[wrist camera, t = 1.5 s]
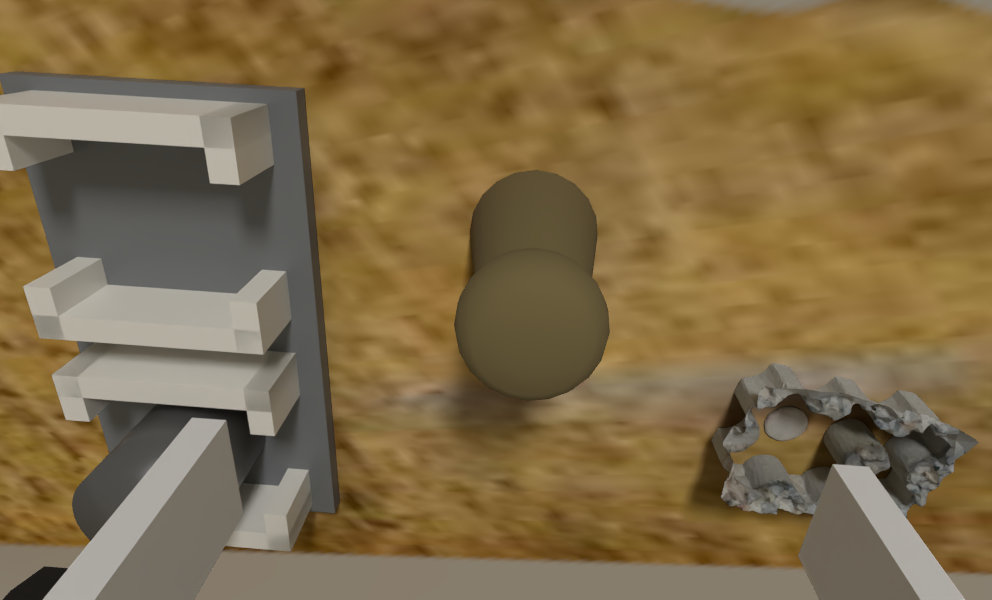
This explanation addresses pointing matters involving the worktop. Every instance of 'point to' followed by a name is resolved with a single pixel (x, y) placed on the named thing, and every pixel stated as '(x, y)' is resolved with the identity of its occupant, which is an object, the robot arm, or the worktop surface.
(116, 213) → the socket board
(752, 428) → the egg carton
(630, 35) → the worktop surface
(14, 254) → the worktop surface
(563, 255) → the cork
